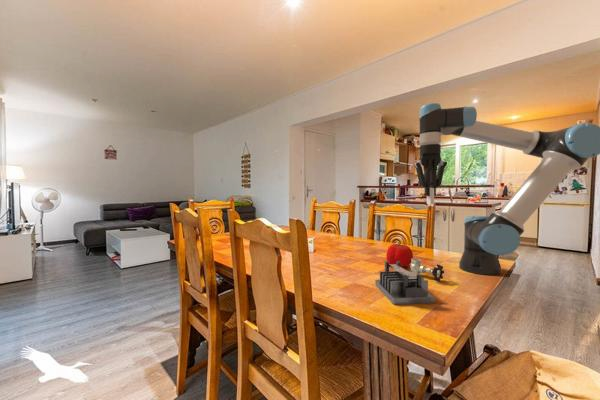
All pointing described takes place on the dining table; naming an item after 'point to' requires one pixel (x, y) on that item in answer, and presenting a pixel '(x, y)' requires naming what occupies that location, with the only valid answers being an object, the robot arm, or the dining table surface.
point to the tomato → (399, 255)
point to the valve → (426, 269)
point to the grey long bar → (404, 271)
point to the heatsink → (403, 287)
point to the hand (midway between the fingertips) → (430, 204)
